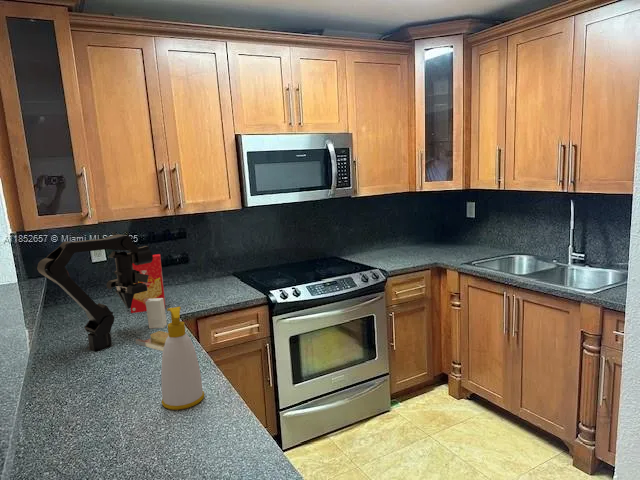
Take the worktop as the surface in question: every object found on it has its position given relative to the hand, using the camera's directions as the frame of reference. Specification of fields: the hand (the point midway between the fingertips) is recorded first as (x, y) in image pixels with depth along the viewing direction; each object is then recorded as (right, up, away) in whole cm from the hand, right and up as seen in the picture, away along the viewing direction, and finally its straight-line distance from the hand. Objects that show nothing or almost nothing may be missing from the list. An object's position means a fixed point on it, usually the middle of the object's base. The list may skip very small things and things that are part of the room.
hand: (129, 308), depth 167 cm
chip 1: (+14, -12, -7) cm, 20 cm away
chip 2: (+18, -12, -9) cm, 23 cm away
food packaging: (-7, -7, +38) cm, 40 cm away
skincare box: (+7, -10, +12) cm, 17 cm away
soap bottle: (+35, -18, -47) cm, 61 cm away
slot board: (+14, -13, -7) cm, 20 cm away
